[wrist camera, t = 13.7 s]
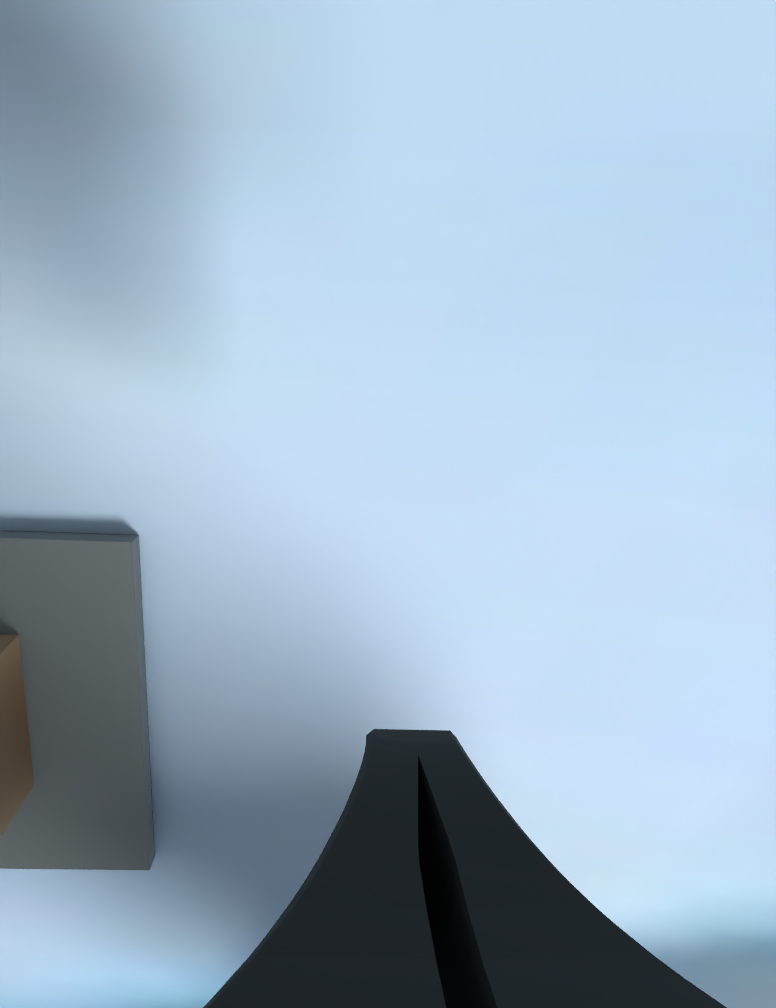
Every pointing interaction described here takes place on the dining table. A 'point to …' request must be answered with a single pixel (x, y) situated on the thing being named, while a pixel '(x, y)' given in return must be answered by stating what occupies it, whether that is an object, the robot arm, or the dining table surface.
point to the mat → (79, 700)
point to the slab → (13, 733)
